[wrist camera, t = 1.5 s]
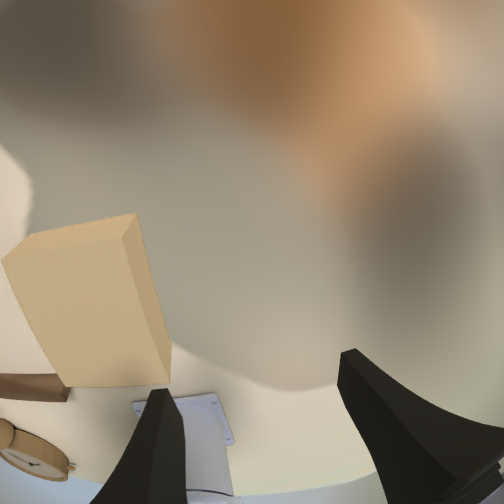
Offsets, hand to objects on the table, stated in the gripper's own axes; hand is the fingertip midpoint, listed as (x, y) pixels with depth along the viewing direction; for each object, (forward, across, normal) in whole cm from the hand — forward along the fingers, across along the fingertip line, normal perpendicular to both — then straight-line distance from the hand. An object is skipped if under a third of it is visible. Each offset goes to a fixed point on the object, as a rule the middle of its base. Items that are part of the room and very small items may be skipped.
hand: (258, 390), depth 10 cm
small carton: (+10, +9, 0) cm, 13 cm away
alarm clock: (+10, +33, +21) cm, 40 cm away
